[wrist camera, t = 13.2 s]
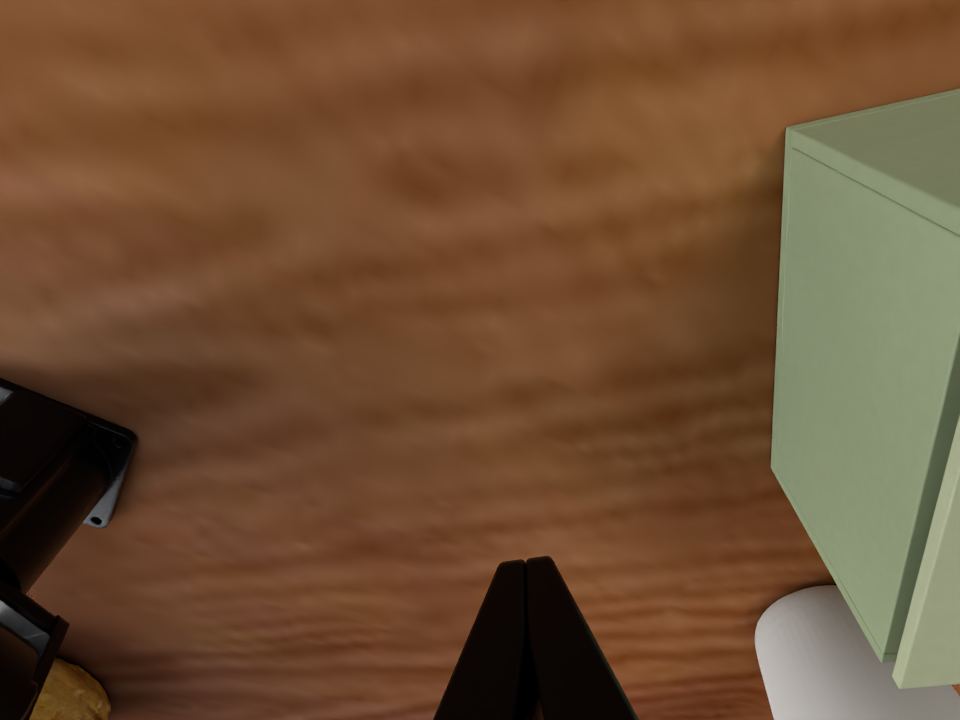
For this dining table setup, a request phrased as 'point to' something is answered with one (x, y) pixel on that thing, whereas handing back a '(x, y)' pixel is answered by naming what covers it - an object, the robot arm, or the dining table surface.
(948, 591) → the flap
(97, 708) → the bagel
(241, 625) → the dining table surface
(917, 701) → the cup
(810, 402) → the carton
